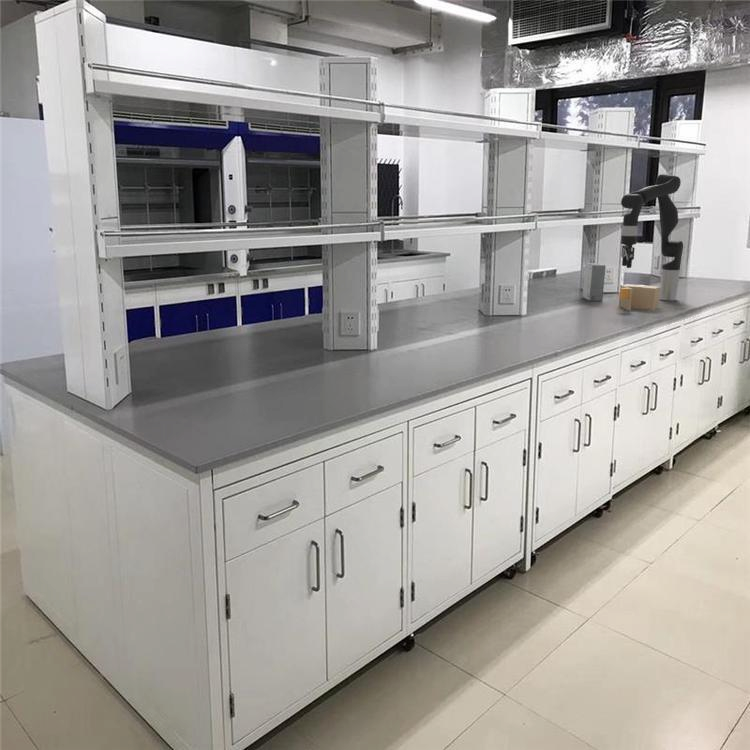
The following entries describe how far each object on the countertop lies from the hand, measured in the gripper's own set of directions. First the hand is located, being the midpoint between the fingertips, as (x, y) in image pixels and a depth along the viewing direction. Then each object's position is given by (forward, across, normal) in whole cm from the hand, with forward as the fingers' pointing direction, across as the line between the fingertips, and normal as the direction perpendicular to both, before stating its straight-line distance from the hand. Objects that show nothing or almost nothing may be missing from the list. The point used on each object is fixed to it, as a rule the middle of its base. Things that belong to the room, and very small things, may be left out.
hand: (626, 266), depth 367 cm
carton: (+23, +10, -11) cm, 27 cm away
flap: (+22, +2, +1) cm, 22 cm away
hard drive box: (+23, +36, +8) cm, 44 cm away
